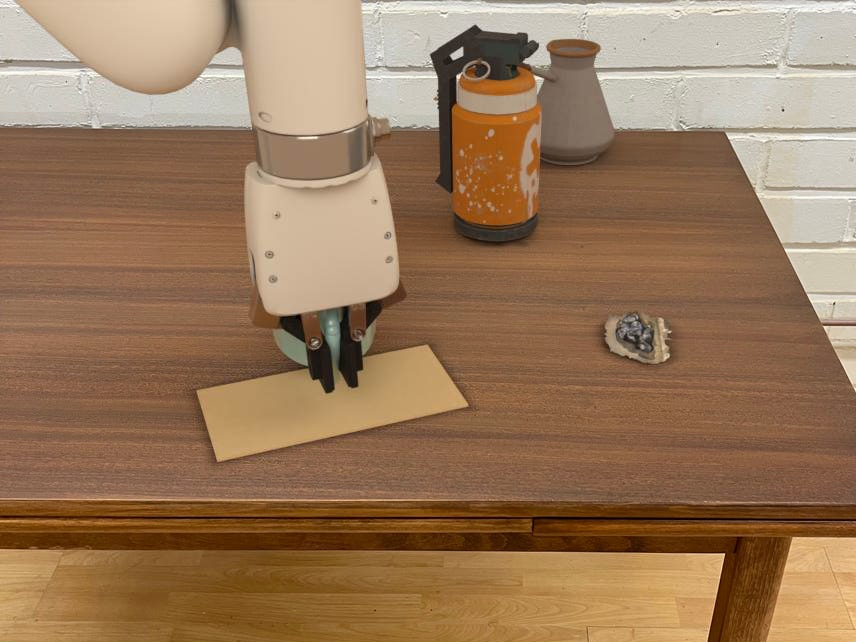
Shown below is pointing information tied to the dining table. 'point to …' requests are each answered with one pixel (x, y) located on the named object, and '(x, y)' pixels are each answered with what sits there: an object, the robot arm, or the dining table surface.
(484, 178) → the canister
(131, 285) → the dining table surface
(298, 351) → the teal coffee mug
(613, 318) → the mineral specimen
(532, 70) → the coffee pot
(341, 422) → the mat
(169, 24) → the robot arm
